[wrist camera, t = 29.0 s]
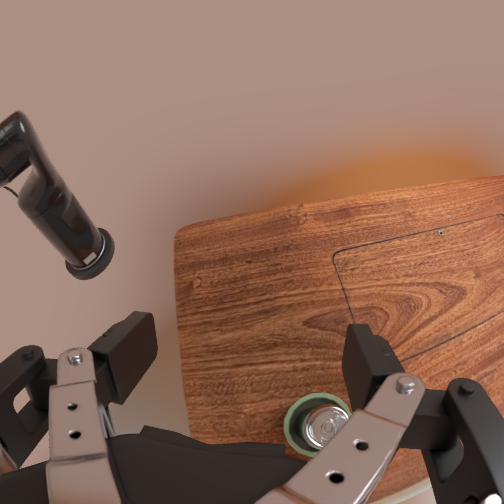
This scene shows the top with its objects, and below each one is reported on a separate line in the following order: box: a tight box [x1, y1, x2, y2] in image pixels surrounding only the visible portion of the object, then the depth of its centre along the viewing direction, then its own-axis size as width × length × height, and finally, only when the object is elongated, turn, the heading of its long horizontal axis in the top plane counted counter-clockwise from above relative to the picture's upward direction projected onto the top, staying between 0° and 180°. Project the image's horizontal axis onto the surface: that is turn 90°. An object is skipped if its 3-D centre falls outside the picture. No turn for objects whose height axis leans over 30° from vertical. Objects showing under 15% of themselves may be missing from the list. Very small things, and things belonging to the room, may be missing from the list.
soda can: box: [294, 403, 349, 450], centre depth 29 cm, size 5×5×12 cm
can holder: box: [283, 393, 351, 457], centre depth 32 cm, size 8×8×6 cm
